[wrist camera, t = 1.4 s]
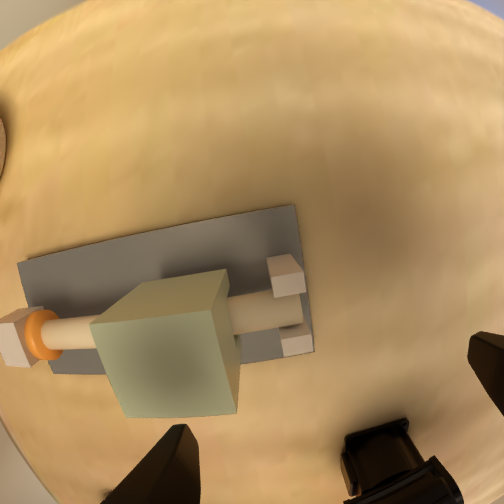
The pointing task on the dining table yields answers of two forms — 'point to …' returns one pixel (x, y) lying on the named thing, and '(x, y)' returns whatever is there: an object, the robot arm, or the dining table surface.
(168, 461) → the robot arm
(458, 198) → the dining table surface
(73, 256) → the cord board
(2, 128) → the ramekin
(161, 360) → the matte sage green cube
